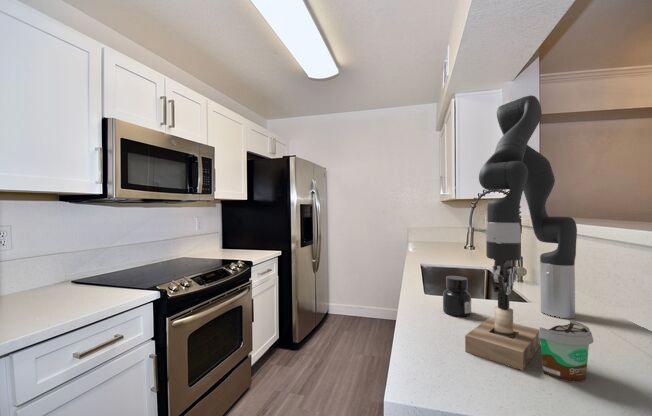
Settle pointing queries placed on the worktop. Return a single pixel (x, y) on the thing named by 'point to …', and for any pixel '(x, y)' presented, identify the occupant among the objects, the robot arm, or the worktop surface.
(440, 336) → the worktop surface
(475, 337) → the board
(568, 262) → the robot arm
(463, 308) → the ink bottle
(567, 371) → the food container
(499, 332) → the peg
